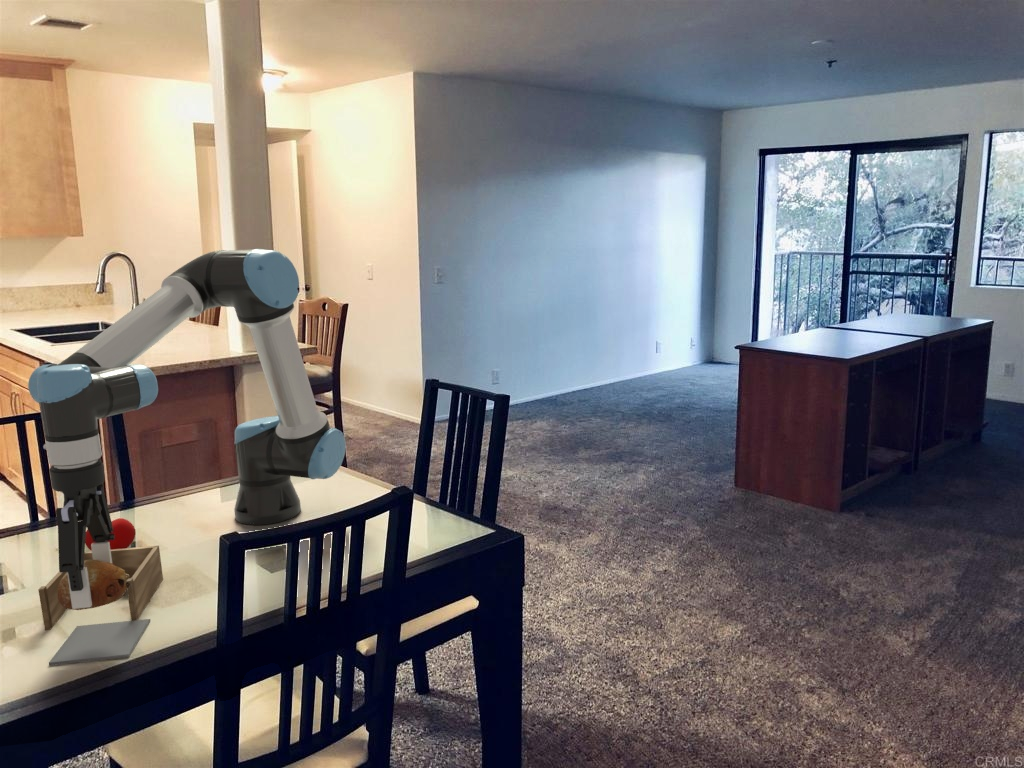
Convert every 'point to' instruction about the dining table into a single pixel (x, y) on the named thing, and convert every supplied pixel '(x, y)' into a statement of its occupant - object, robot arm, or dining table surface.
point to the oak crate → (143, 581)
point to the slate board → (100, 642)
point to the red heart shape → (117, 535)
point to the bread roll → (97, 584)
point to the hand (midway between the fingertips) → (94, 592)
